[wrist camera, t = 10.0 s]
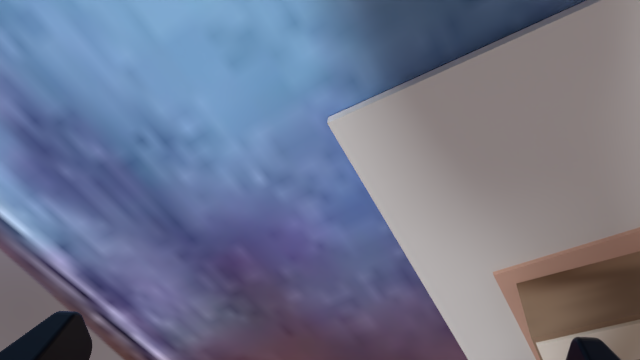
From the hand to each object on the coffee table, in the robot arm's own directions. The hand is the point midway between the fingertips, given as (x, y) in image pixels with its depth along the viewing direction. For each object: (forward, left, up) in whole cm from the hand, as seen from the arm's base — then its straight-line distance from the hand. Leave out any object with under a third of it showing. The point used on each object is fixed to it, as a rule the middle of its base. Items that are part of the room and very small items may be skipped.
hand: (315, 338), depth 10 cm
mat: (+11, +6, -12) cm, 18 cm away
